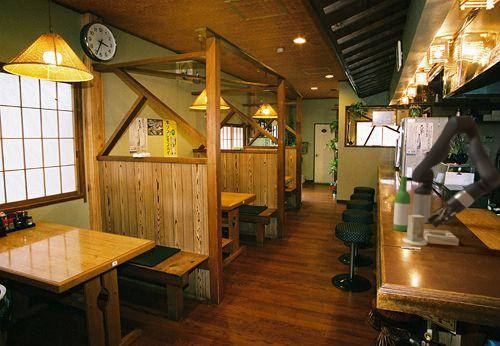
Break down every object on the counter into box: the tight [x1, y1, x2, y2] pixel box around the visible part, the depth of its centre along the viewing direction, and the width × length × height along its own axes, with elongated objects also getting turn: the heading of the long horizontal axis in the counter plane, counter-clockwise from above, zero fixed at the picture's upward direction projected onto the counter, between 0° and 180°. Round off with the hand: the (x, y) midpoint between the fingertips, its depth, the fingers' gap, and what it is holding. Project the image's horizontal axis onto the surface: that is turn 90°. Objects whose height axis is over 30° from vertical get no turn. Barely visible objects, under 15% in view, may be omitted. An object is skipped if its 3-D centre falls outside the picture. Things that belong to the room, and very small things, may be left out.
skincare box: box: [406, 214, 426, 241], centre depth 158 cm, size 6×4×12 cm
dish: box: [401, 236, 428, 247], centre depth 159 cm, size 11×11×1 cm
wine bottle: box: [392, 176, 411, 232], centre depth 179 cm, size 8×8×30 cm
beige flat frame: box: [423, 228, 460, 246], centre depth 163 cm, size 15×13×3 cm
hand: (431, 223), depth 156 cm, fingers open, 8 cm apart
